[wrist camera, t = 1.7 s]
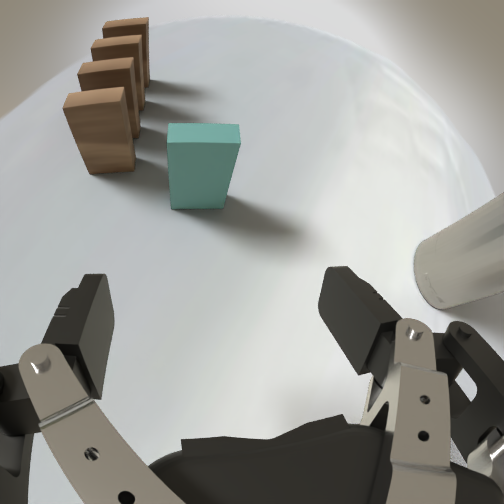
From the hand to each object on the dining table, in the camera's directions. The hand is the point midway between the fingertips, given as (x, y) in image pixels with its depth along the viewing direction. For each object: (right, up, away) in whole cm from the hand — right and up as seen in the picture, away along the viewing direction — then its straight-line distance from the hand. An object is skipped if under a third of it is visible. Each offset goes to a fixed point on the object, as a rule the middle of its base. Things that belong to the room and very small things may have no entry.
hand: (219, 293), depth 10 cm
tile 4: (-14, +19, +20) cm, 31 cm away
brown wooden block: (-15, +23, +21) cm, 35 cm away
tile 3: (-14, +15, +19) cm, 28 cm away
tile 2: (-13, +10, +17) cm, 24 cm away
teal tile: (-4, +6, +18) cm, 20 cm away
